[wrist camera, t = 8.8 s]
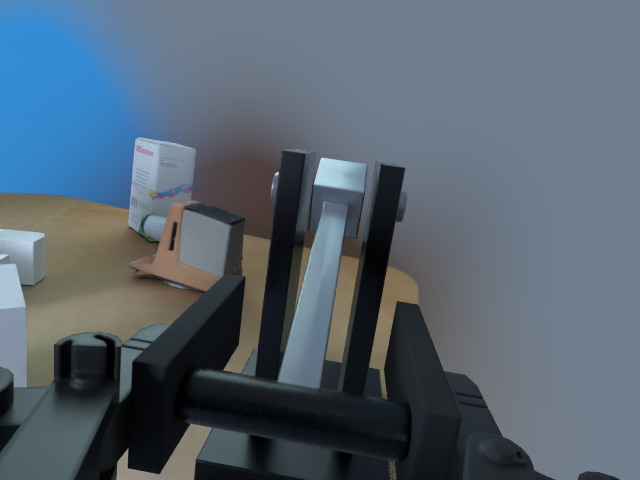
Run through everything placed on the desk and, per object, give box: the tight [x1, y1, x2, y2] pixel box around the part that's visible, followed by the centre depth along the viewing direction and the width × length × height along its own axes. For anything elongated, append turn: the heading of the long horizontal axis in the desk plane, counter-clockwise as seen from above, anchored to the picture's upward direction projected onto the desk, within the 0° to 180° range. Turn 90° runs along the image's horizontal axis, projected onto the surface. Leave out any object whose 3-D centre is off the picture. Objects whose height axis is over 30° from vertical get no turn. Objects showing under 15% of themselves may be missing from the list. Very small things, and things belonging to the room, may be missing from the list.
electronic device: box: [128, 200, 245, 292], centre depth 39 cm, size 4×10×8 cm, turn 76°
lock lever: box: [176, 158, 411, 462], centre depth 15 cm, size 13×6×2 cm, turn 175°
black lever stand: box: [194, 150, 407, 480], centre depth 20 cm, size 10×8×14 cm
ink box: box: [129, 138, 196, 241], centre depth 54 cm, size 9×5×12 cm, turn 39°
